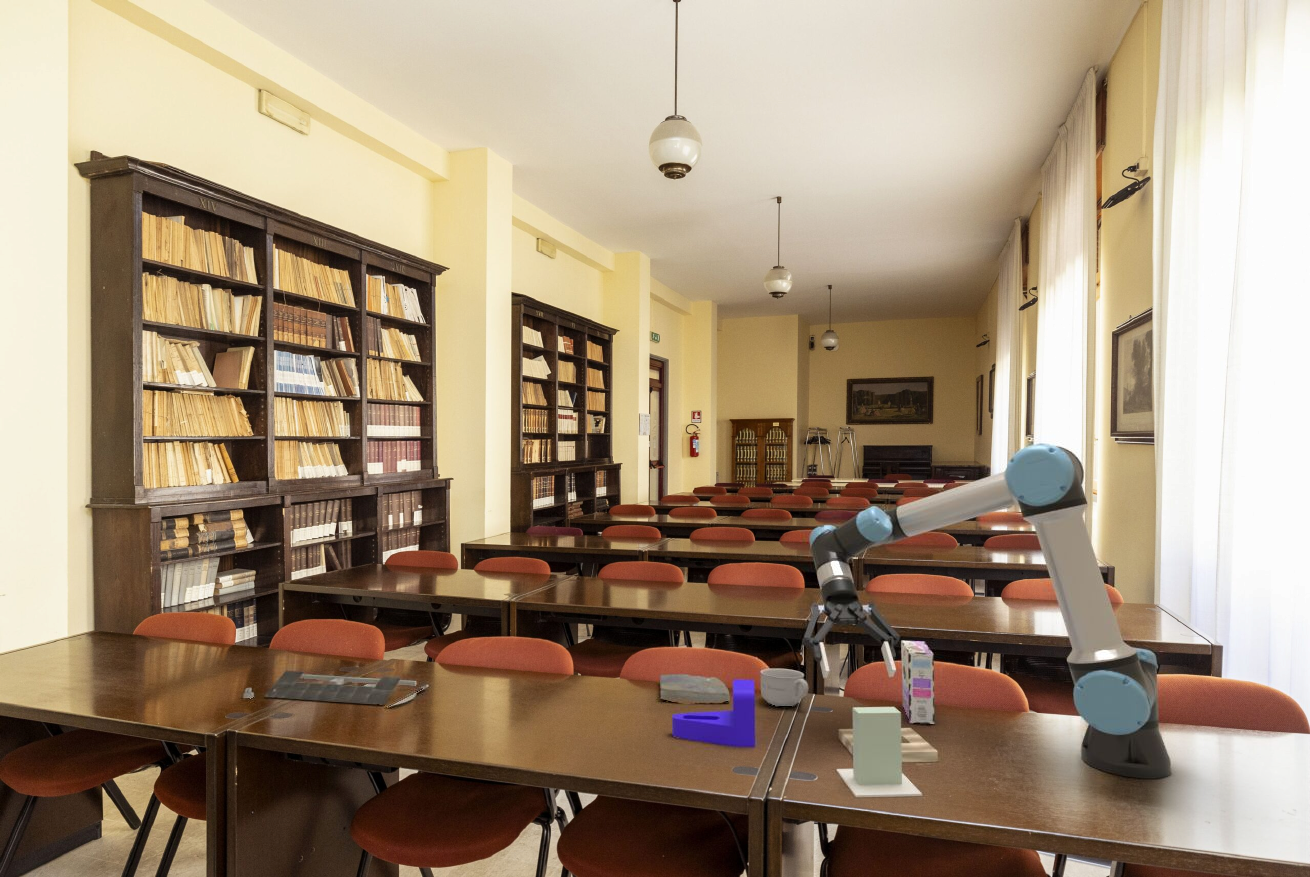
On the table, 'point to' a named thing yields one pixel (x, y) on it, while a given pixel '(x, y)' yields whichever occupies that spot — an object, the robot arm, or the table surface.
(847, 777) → the white square tile
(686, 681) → the fossil
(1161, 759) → the robot arm
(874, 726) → the tall mint prism
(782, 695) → the teacup
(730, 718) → the bracket
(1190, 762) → the table surface
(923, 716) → the candy box
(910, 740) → the wooden square base
